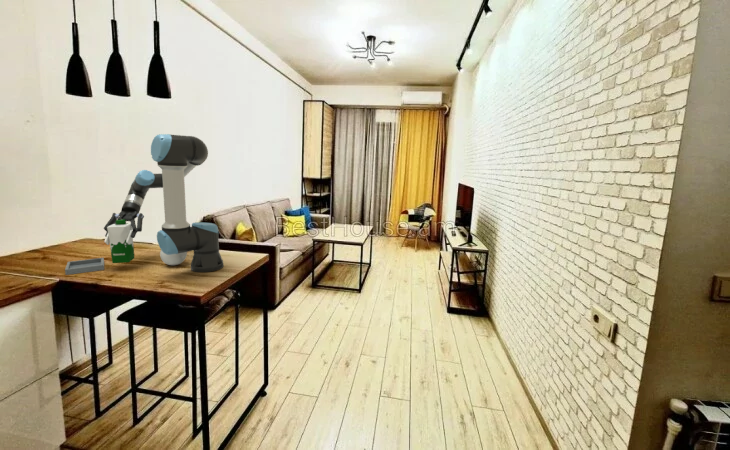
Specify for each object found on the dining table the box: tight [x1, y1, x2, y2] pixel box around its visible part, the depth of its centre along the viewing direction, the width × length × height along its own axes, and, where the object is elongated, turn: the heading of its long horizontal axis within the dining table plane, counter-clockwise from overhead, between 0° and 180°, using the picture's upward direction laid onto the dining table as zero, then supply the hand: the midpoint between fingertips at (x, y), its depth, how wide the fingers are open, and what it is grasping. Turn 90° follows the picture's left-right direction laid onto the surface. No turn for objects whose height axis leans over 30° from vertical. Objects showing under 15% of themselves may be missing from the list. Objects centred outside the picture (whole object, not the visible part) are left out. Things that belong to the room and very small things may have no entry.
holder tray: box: [64, 257, 105, 276], centre depth 164 cm, size 14×14×2 cm
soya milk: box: [107, 219, 135, 264], centre depth 164 cm, size 9×9×20 cm
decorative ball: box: [159, 249, 188, 266], centre depth 173 cm, size 12×12×12 cm
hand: (117, 243), depth 161 cm, fingers closed on soya milk, 9 cm apart
